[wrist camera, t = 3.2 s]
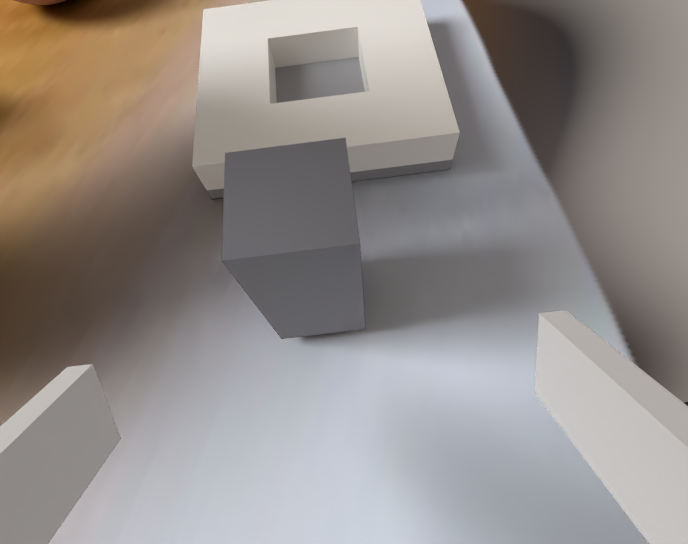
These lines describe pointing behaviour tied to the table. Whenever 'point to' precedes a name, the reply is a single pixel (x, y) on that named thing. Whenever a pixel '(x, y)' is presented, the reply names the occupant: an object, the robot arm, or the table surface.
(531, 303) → the table surface
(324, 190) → the plug
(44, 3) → the mortar and pestle
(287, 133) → the socket
